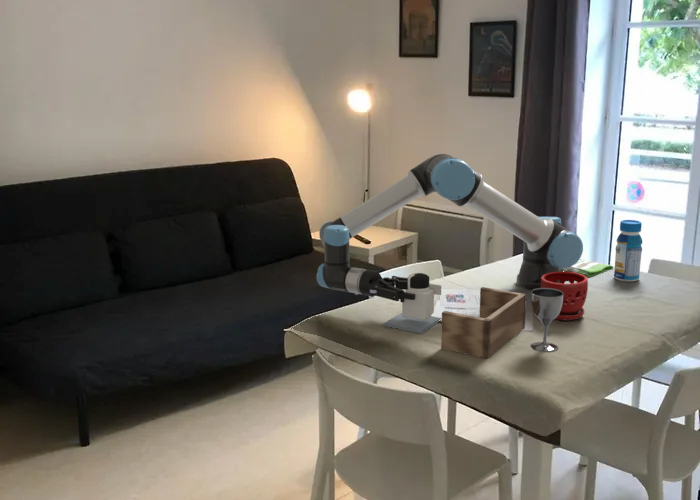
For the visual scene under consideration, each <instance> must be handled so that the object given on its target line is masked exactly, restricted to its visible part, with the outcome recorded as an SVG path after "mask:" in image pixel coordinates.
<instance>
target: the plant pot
mask: <svg viewBox="0 0 700 500" xmlns="http://www.w3.org/2000/svg"><path fill="white" fill-rule="evenodd" d="M588 280H589V279H588V277H586V276H584V275H582V274H579V273H574V272H563V271H561V272H551V273H547V274H544V275H543V276H542V277H541V288H553V289H557V290H560V291H562V292H563V304H562V308H561V311H560V314H559V315H558V316H557V317H556V318H555V319H554V320H559V321H573V320H577V319H580V318H582V316H583V315H584V314H585V311H586V310H585V309H584V308H583V307H584V305H585V303H586V299H587V295H588V289H589V288H588V287H589V281H588ZM557 281H560V283H556V282H557ZM566 282H569V283H566Z"/></svg>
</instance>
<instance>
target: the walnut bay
mask: <svg viewBox="0 0 700 500" xmlns="http://www.w3.org/2000/svg"><path fill="white" fill-rule="evenodd" d="M479 291H480V294H479V295H480V296H479V316H475V315H474V316H473V315H470V314H469V315H468V314H463V313H458V312H453V311H446V310H443V311H442V312H441V339H440V340H441V342H440V343H441V345H440V346H441V347H440V348H442V349H441V350H445V349H447V350H446V351H450V350H452V351H451V352H454V351H457V352H456V353H459V352H461V353H460V354H463V353H466V354H465V355H468V354H469V356H473V357H479V358H483V359H489V358H490V357H492V356H493V355H494V354H495V353H497V352H498V351H499V350H501V348H502V347H503V346H505V345H506V344H507V343H509V342H510V341H511V340H512V339H513V338H514V337H516V336H517V335H518V334H520V331H521V330H522V329H523V330H524V329H526V327H525V325H526V303H527V293H522V292H515V291H509V290H503V289H496V288H491V287H485V286H484V287H483V286H482V287H480V289H479ZM523 330H522V331H523ZM522 331H521V332H522Z"/></svg>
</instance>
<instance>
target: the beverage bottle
mask: <svg viewBox="0 0 700 500" xmlns="http://www.w3.org/2000/svg"><path fill="white" fill-rule="evenodd" d="M641 231H642V222H641V221H640V220H636V219H622V220H621V221H620V224H619V232H620V234H619V235H618V236H617V238H616V243H617V244H616V246H615V259H614V260H615V261H614V269H613V270H614V274H613V277H614V279H615V280H617V281H621V282H632V283H633V282H637V281H638V280H639V279H640V271H641V262H642V252H643V247H642V244H643V239H642V237H641V234H640V233H641Z"/></svg>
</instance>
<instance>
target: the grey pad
mask: <svg viewBox="0 0 700 500" xmlns="http://www.w3.org/2000/svg"><path fill="white" fill-rule="evenodd" d="M440 319H441V320H442V317H438V316H432V315H431V316H430V317H429V318H427V319H426V320H419V319H412V318H405V317H402V312H401V313H399V314H397V315H396V316H394V317H391V318H390V319H388V320H386V321H385V322H383V324H384V327H386V326H388V328H391V327H392V329H396V328H398V329H397V330H401V329H403V330H402V331H405V330H407V332H410V331H412V332H411V333H415V332H416V334H420V333H422V334H423V332H424V333H425V332H427V331H428V330H430V329H432V328H433V327H435V326H436V325H437V323H438V322H439V320H440ZM439 323H440V322H439ZM439 323H438V324H439ZM434 325H435V326H434ZM426 330H427V331H426Z"/></svg>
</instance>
